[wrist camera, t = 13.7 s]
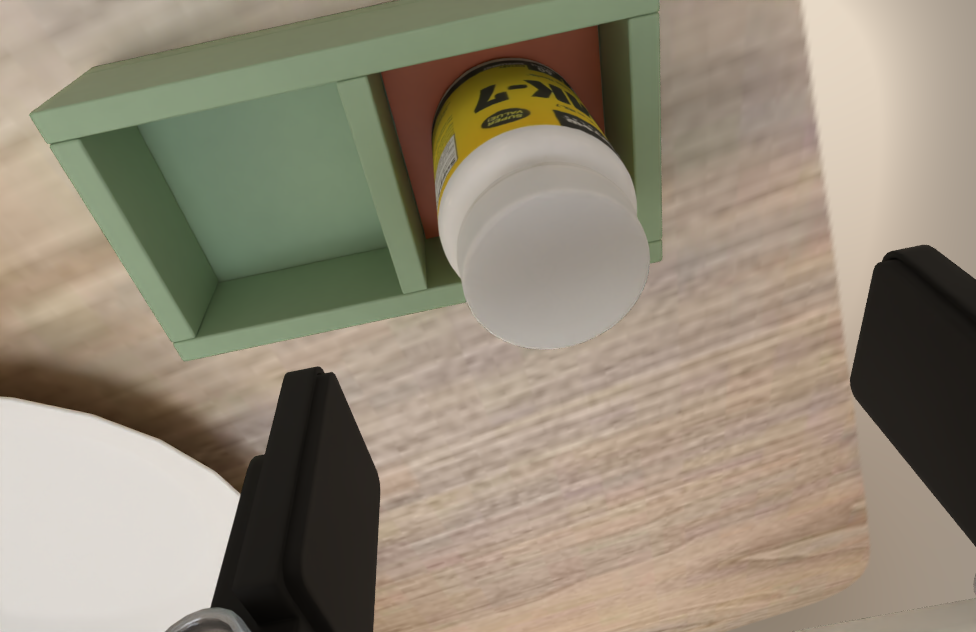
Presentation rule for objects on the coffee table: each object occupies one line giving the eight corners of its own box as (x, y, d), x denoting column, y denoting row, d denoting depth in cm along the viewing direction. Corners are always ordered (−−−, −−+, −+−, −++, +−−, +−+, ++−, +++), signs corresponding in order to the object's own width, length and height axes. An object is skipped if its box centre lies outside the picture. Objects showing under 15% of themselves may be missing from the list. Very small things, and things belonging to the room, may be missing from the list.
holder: (91, 67, 19) (27, 113, 15) (614, -48, 18) (660, -25, 15) (212, 291, 23) (183, 362, 20) (626, 203, 23) (663, 262, 20)
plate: (168, 304, 23) (149, 343, 22) (338, 600, 36) (335, 639, 34) (-383, 413, 24) (-447, 460, 22) (-22, 670, 36) (-44, 713, 34)
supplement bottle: (601, 70, 19) (709, 193, 12) (558, 211, 22) (628, 374, 15) (443, 38, 18) (469, 153, 11) (418, 189, 21) (426, 355, 14)
